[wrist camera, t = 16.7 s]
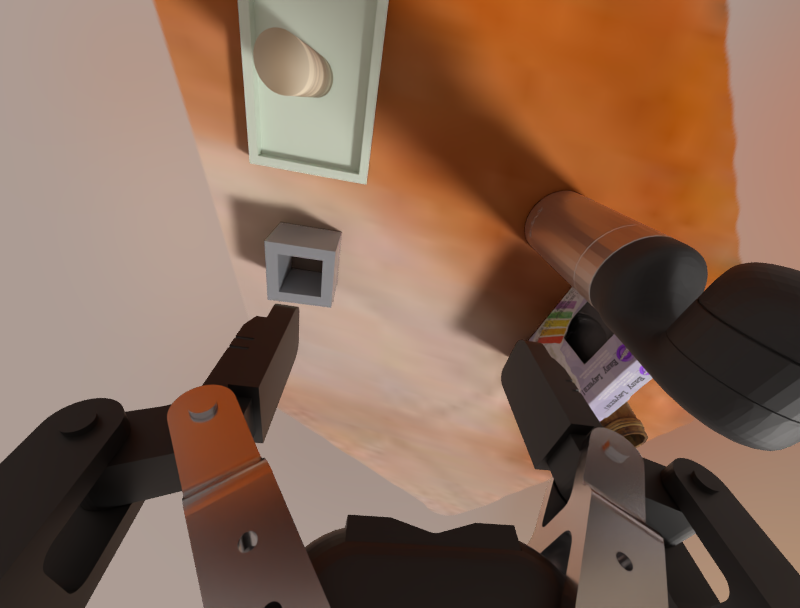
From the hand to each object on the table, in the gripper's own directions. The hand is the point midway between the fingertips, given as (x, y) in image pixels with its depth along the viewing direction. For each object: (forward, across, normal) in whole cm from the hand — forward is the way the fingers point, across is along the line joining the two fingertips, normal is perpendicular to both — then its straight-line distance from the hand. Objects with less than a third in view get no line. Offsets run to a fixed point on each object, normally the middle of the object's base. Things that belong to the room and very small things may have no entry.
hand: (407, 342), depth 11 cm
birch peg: (+33, +11, -8) cm, 36 cm away
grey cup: (+34, +10, +14) cm, 39 cm away
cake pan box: (+36, -32, +21) cm, 52 cm away
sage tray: (+34, +11, -8) cm, 37 cm away
